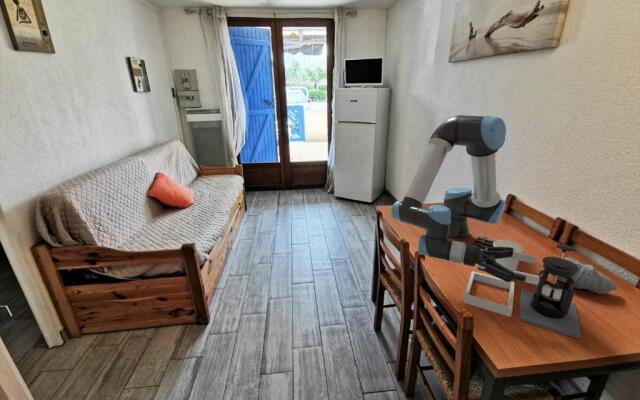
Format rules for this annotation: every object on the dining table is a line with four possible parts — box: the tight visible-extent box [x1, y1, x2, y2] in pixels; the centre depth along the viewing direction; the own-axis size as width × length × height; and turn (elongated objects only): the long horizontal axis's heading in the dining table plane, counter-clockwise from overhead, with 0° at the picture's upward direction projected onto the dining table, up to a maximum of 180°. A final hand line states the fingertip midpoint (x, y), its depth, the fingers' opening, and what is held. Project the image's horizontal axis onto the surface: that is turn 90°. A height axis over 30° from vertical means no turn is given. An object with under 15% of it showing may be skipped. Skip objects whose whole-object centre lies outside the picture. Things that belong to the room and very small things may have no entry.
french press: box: [530, 243, 579, 319], centre depth 94 cm, size 12×9×23 cm
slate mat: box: [519, 289, 582, 340], centre depth 98 cm, size 15×17×1 cm
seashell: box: [550, 257, 618, 295], centre depth 110 cm, size 16×15×10 cm
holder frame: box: [463, 271, 515, 318], centre depth 107 cm, size 14×17×3 cm
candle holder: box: [492, 239, 524, 278], centre depth 119 cm, size 10×10×12 cm
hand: (536, 269), depth 97 cm, fingers open, 13 cm apart
